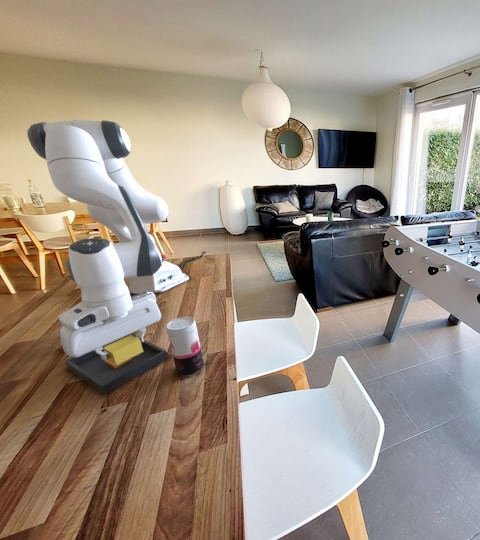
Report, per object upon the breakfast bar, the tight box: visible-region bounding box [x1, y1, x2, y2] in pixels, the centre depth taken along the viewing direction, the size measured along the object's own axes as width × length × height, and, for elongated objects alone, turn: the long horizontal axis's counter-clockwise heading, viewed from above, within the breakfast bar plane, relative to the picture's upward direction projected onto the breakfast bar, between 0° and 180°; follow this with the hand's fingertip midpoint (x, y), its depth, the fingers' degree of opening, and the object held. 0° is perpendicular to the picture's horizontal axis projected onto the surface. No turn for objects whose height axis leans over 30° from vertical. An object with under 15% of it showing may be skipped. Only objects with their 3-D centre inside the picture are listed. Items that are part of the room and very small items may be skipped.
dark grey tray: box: [64, 333, 169, 395], centre depth 80 cm, size 16×19×2 cm
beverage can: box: [165, 316, 205, 377], centre depth 77 cm, size 6×7×15 cm
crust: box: [105, 358, 132, 369], centre depth 80 cm, size 4×4×1 cm
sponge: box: [103, 335, 143, 365], centre depth 76 cm, size 6×4×4 cm
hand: (123, 350), depth 76 cm, fingers closed on sponge, 6 cm apart
